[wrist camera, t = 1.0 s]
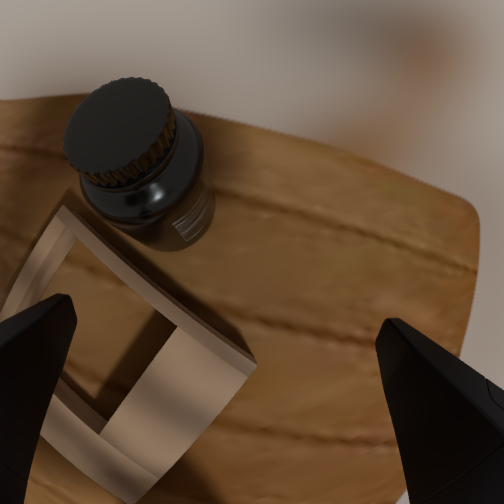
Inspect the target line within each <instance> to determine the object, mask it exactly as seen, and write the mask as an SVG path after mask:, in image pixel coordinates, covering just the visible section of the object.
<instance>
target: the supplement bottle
mask: <svg viewBox="0 0 504 504" xmlns="http://www.w3.org/2000/svg"><path fill="white" fill-rule="evenodd" d="M63 143H64V146H63V150H64V151H65V157H66V159H67V160H68V161H69V163H70V165H71V166H72V167H73V168H74V169H75V170H76V171H77V172H78V173H79V180H80V187H81V191H82V194H83V197H84V199H85V201H86V202H87V204H88V206H89V207H90V208H91V210H92V211H93V212H94V213H95V214H96V215H98V216H99V217H100V218H101V219H103V220H104V221H106V222H107V223H109V224H110V225H112V226H114V227H115V228H117V229H118V230H120V231H122V232H123V233H125V234H127V235H128V236H130V237H131V238H133V239H135V240H136V241H138V242H140V243H141V244H143V245H145V246H147V247H149V248H151V249H154V250H157V251H163V252H173V251H179V250H182V249H185V248H187V247H189V246H191V245H193V244H194V243H196V242H197V241H198V240H199V239H200V238H201V237H202V236H203V235H204V234H205V233H206V231H207V230H208V228H209V227H210V225H211V223H212V220H213V217H214V213H215V194H214V189H213V184H212V179H211V174H210V169H209V163H208V158H207V153H206V148H205V144H204V141H203V137H202V135H201V133H200V131H199V129H198V127H197V126H196V124H195V123H194V122H193V121H192V120H191V119H190V118H189V117H188V116H187V115H185V114H184V113H182V112H181V111H179V110H177V109H175V108H172V106H171V103H170V100H169V97H168V95H167V94H166V93H165V91H164V89H163V88H161V87H159V86H158V84H157V83H155V82H151V80H149V79H143V78H141V77H140V78H134V77H130V78H121V79H119V80H115V81H111V82H110V83H108V84H105V85H102V86H101V87H100V88H99V89H96V90H94V91H93V92H92V93H91V94H90V95H88V96H87V97H85V99H84V100H83V101H82V102H81V103H80V104H79V105H78V106H77V108H76V110H75V111H74V112H73V113H72V115H71V118H70V119H69V120H68V122H67V127H66V128H65V130H64V138H63Z"/></svg>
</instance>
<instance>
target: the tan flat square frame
mask: <svg viewBox="0 0 504 504" xmlns="http://www.w3.org/2000/svg"><path fill="white" fill-rule="evenodd" d="M77 238H78V239H79V240H80V241H81V242H82V243H83V244H84V245H85V246H86V247H87V248H88V249H89V250H90V251H91V252H92V253H93V254H94V255H95V256H96V257H97V258H99V259H100V260H101V261H102V262H103V263H104V264H105V265H106V266H107V267H108V268H109V269H110V270H111V271H113V272H114V273H115V274H116V275H117V276H118V277H119V278H120V279H121V280H123V281H124V282H125V283H126V284H127V285H128V286H129V287H130V288H132V289H133V290H134V291H135V292H136V293H137V294H139V295H140V296H141V297H142V298H143V299H144V300H146V301H147V302H148V303H149V304H150V305H152V306H153V307H154V308H155V309H156V310H158V311H159V312H160V313H161V314H163V315H164V316H165V317H166V318H168V319H169V320H170V321H171V322H173V323H174V324H175V325H176V326H178V327H177V328H176V329H175V331H174V332H173V333H172V335H171V336H170V338H169V339H168V340H167V342H166V343H165V344H164V346H163V347H162V348H161V350H160V351H159V352H158V354H157V355H156V357H155V358H154V359H153V361H152V362H151V363H150V365H149V366H148V368H147V369H146V370H145V372H144V373H143V374H142V376H141V377H140V378H139V380H138V381H137V383H136V384H135V385H134V387H133V388H132V390H131V391H130V392H129V394H128V395H127V396H126V398H125V399H124V401H123V402H122V403H121V405H120V406H119V408H118V409H117V410H116V412H115V413H114V415H113V416H112V417H111V419H110V420H109V422H108V421H107V420H105V419H104V418H103V417H102V416H101V415H99V414H98V413H97V412H96V411H95V410H94V409H93V408H91V407H90V406H89V405H88V404H87V403H86V402H85V401H84V400H82V399H81V398H80V397H79V396H78V395H77V394H76V393H75V392H74V391H73V390H72V389H71V388H70V387H69V386H68V385H67V384H66V383H65V382H64V381H63V380H62V379H61V378H60V377H59V380H58V383H57V385H56V388H55V391H54V393H53V396H52V399H51V402H50V404H49V407H48V410H47V413H46V416H45V419H44V422H43V426H42V429H41V432H40V435H41V436H42V437H43V438H44V439H45V440H46V441H48V442H49V443H50V444H51V445H52V446H53V447H54V448H55V449H56V450H57V451H58V452H59V453H60V454H62V455H63V456H64V457H65V458H66V459H67V460H68V461H70V462H71V463H72V464H73V465H74V466H76V467H77V468H78V469H79V470H80V471H82V472H83V473H84V474H85V475H87V476H88V477H89V478H91V479H92V480H93V481H95V482H96V483H97V484H99V485H100V486H102V487H103V488H104V489H106V490H107V491H109V492H110V493H112V494H113V495H114V496H116V497H117V498H119V499H121V500H122V501H124V502H125V503H127V504H135V503H136V502H137V501H138V500H139V499H140V498H141V497H142V496H143V495H144V494H145V493H146V492H147V491H148V490H149V489H150V488H151V487H152V486H153V485H154V484H155V483H156V482H157V481H158V480H159V479H160V478H161V477H162V476H163V475H164V474H165V473H166V472H167V471H168V470H169V469H170V468H171V467H172V466H173V465H174V464H175V463H176V461H177V460H178V459H179V458H180V457H181V456H182V455H183V454H184V453H185V452H186V451H187V449H188V448H189V447H190V446H191V445H192V444H193V443H194V442H195V441H196V439H197V438H198V437H199V436H200V435H201V434H202V433H203V431H204V430H205V429H206V428H207V427H208V426H209V425H210V423H211V422H212V421H213V420H214V419H215V417H216V416H217V415H218V414H219V413H220V412H221V410H222V409H223V408H224V407H225V406H226V404H227V403H228V402H229V401H230V399H231V398H232V397H233V396H234V395H235V393H236V392H237V391H238V390H239V388H240V387H241V386H242V385H243V383H244V382H245V381H246V380H247V378H248V377H249V376H250V375H251V373H252V372H253V371H254V369H255V368H256V367H257V366H258V365H257V362H256V360H255V357H253V356H252V355H250V354H249V353H247V352H246V351H244V350H243V349H242V348H240V347H239V346H237V345H236V344H234V343H233V342H232V341H230V340H229V339H227V338H226V337H225V336H223V335H222V334H221V333H219V332H218V331H216V330H215V329H214V328H212V327H211V326H210V325H208V324H207V323H206V322H204V321H203V320H202V319H200V318H199V317H198V316H196V315H195V314H194V313H193V312H191V311H190V310H189V309H187V308H186V307H185V306H183V305H182V304H181V303H180V302H178V301H177V300H176V299H175V298H173V297H172V296H171V295H170V294H168V293H167V292H166V291H165V290H163V289H162V288H161V287H160V286H159V285H157V284H156V283H155V282H154V281H152V280H151V279H150V278H149V277H148V276H146V275H145V274H144V273H143V272H142V271H141V270H139V269H138V268H137V267H136V266H135V265H134V264H132V263H131V262H130V261H129V260H128V259H127V258H125V257H124V256H123V255H122V254H121V253H120V252H119V251H118V250H116V249H115V248H114V247H113V246H112V245H111V244H110V243H109V242H108V241H106V240H105V239H104V238H103V237H102V236H101V235H100V234H99V233H98V232H97V231H96V230H95V229H93V228H92V227H91V226H90V225H89V224H88V223H87V222H86V221H85V220H84V219H83V218H82V217H81V216H80V215H79V214H78V213H76V212H75V211H73V210H71V209H70V208H68V207H66V206H65V205H62V206H61V208H60V209H59V210H58V212H57V213H56V215H55V216H54V218H53V219H52V221H51V222H50V224H49V225H48V227H47V228H46V230H45V231H44V233H43V234H42V236H41V238H40V239H39V241H38V242H37V244H36V246H35V247H34V249H33V251H32V252H31V254H30V256H29V258H28V259H27V261H26V263H25V265H24V266H23V268H22V270H21V272H20V274H19V276H18V278H17V280H16V281H15V283H14V285H13V287H12V289H11V291H10V293H9V295H8V298H7V300H6V302H5V304H4V306H3V308H2V310H1V313H0V322H2V321H4V320H6V319H8V318H9V317H11V316H13V315H15V314H17V313H19V312H21V311H23V310H25V309H27V308H29V307H31V306H33V305H35V304H37V303H38V302H39V300H40V298H41V296H42V294H43V293H44V291H45V289H46V287H47V286H48V284H49V282H50V281H51V279H52V277H53V276H54V274H55V272H56V271H57V269H58V267H59V266H60V264H61V263H62V261H63V259H64V258H65V256H66V255H67V253H68V252H69V250H70V249H71V247H72V246H73V244H74V243H75V241H76V240H77Z"/></svg>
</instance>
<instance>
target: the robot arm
mask: <svg viewBox="0 0 504 504" xmlns="http://www.w3.org/2000/svg"><path fill="white" fill-rule="evenodd" d="M76 326H77V316H76V313H75V309H74V306H73V302H72V299H71V297H70V296H69V295H67V294H61V293H57V294H55V295H53V296H51V297H49V298H47V299H45V300H43V301H41V302H39V303H37V304H35V305H33V306H31V307H29V308H27V309H25V310H23V311H21V312H19V313H17V314H15V315H13V316H11V317H9V318H8V319H6V320H4V321H2V322H0V504H24V499H25V493H26V488H27V483H28V482H27V481H28V478H29V473H30V469H31V465H32V461H33V457H34V453H35V449H36V446H37V442H38V439H39V435H40V432H41V429H42V426H43V422H44V419H45V416H46V413H47V410H48V407H49V404H50V402H51V399H52V396H53V393H54V391H55V388H56V385H57V383H58V380H59V377H60V375H61V372H62V370H63V367H64V364H65V361H66V357H67V354H68V351H69V347H70V344H71V341H72V338H73V335H74V332H75V329H76ZM375 347H376V352H377V357H378V362H379V368H380V373H381V379H382V384H383V389H384V393H385V397H386V401H387V404H388V408H389V412H390V415H391V419H392V423H393V427H394V431H395V435H396V439H397V443H398V447H399V452H400V456H401V461H402V465H403V470H404V475H405V480H406V485H407V491H408V496H409V501H410V504H504V390H502V389H501V388H500V387H498V386H497V385H495V384H494V383H492V382H491V381H490V380H488V379H485V377H484V376H483V375H481V374H480V373H478V372H477V371H476V370H474V369H473V368H471V367H470V366H468V365H467V364H466V363H464V362H463V361H461V360H460V359H458V358H457V357H456V356H454V355H453V354H451V353H450V352H448V351H447V350H445V349H444V348H443V347H441V346H440V345H438V344H437V343H435V342H434V341H432V340H431V339H429V338H428V337H427V336H425V335H424V334H422V333H421V332H419V331H418V330H416V329H415V328H413V327H412V326H410V325H409V324H407V323H406V322H404V321H403V320H401V319H400V318H387V319H385V320H384V322H383V324H382V327H381V329H380V331H379V334H378V336H377V338H376V342H375Z"/></svg>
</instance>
